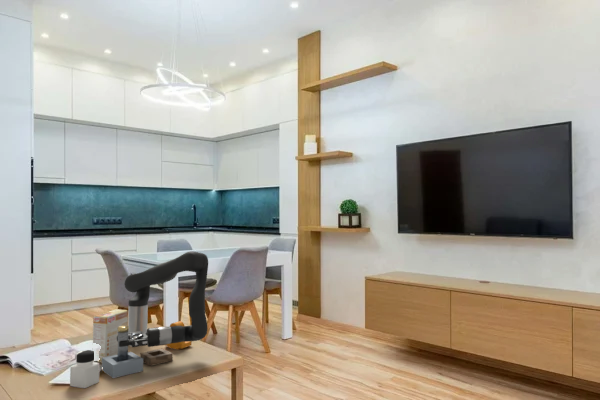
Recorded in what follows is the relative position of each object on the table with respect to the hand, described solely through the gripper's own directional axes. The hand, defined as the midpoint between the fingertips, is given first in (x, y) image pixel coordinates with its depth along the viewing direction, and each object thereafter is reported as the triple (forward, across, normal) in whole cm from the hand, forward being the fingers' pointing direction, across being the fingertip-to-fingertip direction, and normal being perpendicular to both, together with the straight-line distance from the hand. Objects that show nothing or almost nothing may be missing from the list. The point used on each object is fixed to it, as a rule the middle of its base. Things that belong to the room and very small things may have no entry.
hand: (117, 341), depth 180 cm
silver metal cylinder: (-2, 0, +10) cm, 11 cm away
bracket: (-30, -23, +12) cm, 40 cm away
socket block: (-17, -7, +12) cm, 22 cm away
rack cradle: (-2, 0, +12) cm, 12 cm away
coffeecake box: (+1, -21, +12) cm, 24 cm away
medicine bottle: (+12, +9, +12) cm, 20 cm away
